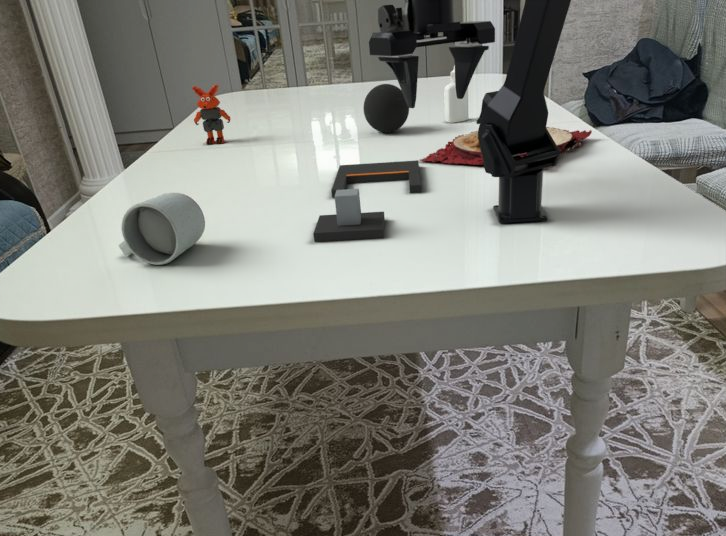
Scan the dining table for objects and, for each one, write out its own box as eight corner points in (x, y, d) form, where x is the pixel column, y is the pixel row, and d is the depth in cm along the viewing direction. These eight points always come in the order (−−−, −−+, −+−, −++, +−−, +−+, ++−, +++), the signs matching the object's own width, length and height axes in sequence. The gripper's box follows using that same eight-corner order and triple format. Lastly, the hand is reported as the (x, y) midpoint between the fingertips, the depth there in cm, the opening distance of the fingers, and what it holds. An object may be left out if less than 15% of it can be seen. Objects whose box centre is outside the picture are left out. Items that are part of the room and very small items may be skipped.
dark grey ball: (406, 136, 137) (404, 86, 132) (361, 137, 139) (357, 88, 134) (413, 126, 145) (410, 79, 140) (370, 128, 147) (366, 81, 142)
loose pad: (383, 237, 82) (380, 198, 80) (314, 242, 83) (309, 202, 80) (384, 219, 89) (381, 182, 86) (320, 223, 89) (315, 186, 86)
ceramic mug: (214, 242, 85) (201, 184, 81) (185, 265, 78) (168, 204, 74) (143, 242, 87) (127, 187, 83) (108, 265, 80) (89, 206, 76)
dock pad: (421, 192, 99) (420, 184, 99) (332, 197, 100) (331, 189, 99) (418, 167, 113) (418, 159, 112) (340, 172, 114) (339, 164, 113)
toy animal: (194, 147, 141) (182, 89, 135) (200, 142, 145) (188, 85, 140) (230, 144, 141) (219, 86, 135) (235, 139, 145) (224, 83, 140)
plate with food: (592, 141, 123) (593, 122, 122) (543, 170, 104) (544, 148, 103) (480, 136, 135) (480, 119, 133) (419, 161, 116) (418, 141, 115)
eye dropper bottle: (443, 120, 150) (442, 64, 144) (467, 118, 150) (466, 63, 144) (445, 123, 147) (444, 67, 141) (470, 121, 147) (469, 65, 141)
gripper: (446, -20, 96) (449, 90, 104) (342, -13, 87) (353, 108, 95) (498, -24, 88) (497, 95, 96) (389, -17, 79) (397, 115, 87)
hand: (436, 103), depth 93 cm, fingers open, 9 cm apart
